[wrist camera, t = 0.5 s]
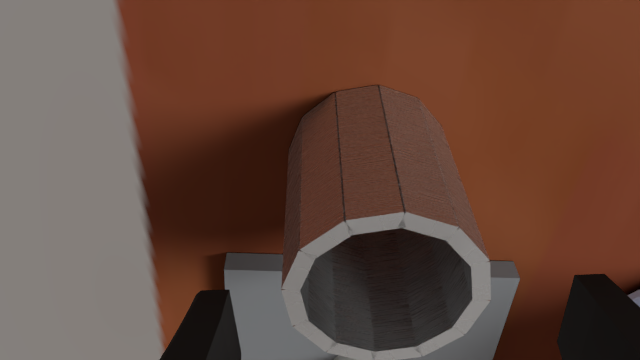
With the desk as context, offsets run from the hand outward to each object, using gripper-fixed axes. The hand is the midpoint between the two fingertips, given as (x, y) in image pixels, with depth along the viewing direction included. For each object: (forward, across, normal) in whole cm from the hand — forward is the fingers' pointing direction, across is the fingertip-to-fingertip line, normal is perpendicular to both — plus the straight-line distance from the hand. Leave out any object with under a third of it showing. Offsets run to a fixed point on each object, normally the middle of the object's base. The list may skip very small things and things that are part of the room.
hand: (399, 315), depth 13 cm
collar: (+10, 0, +2) cm, 10 cm away
